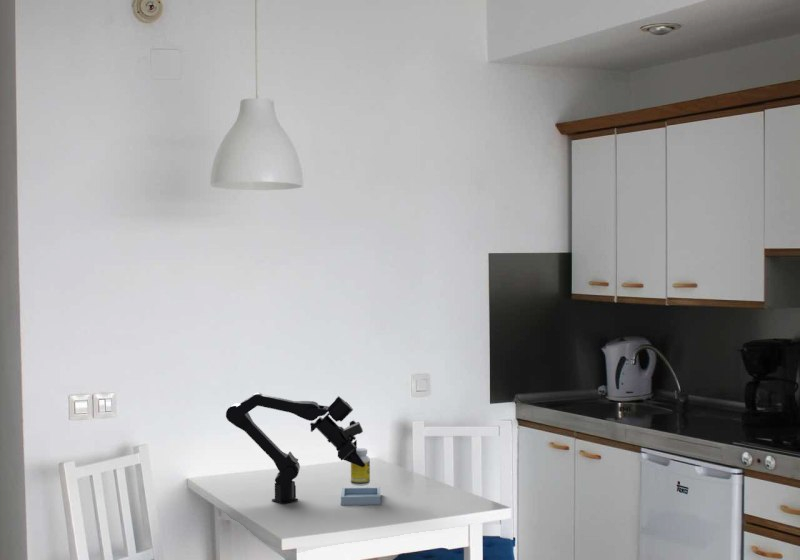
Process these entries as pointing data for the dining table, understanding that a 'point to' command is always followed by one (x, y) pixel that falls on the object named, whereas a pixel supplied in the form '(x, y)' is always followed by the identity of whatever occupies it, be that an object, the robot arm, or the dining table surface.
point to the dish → (360, 496)
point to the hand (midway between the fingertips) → (364, 464)
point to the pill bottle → (361, 469)
